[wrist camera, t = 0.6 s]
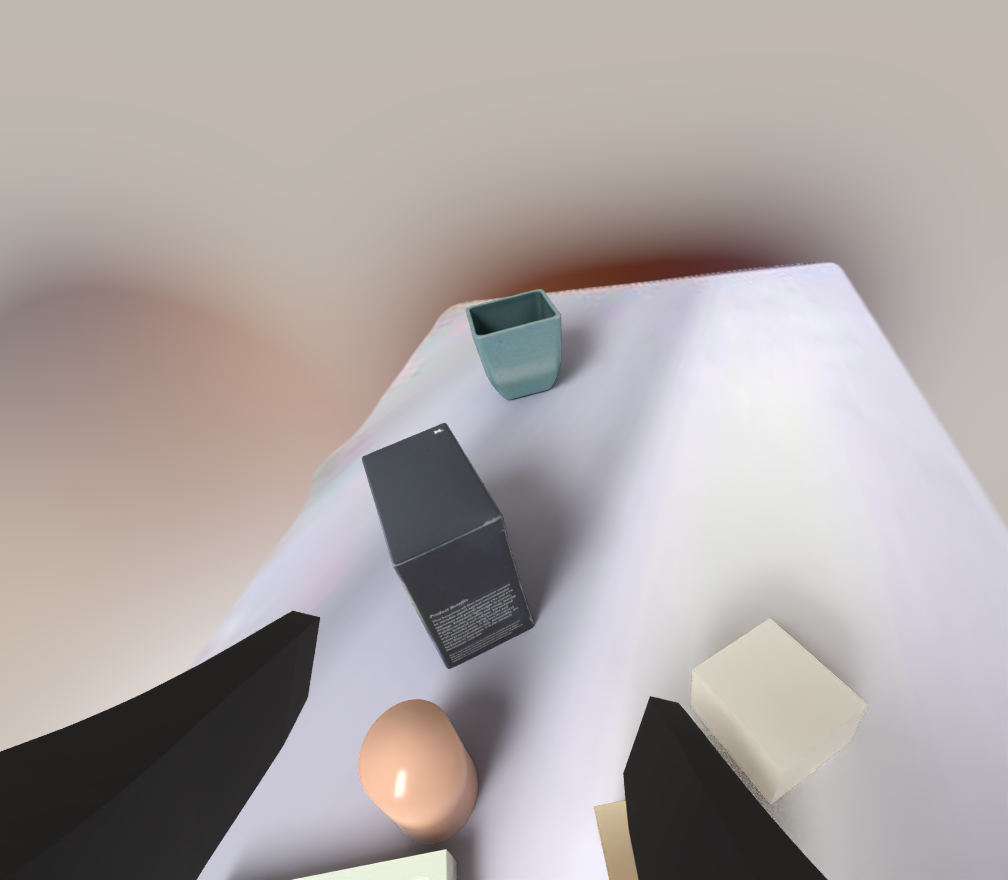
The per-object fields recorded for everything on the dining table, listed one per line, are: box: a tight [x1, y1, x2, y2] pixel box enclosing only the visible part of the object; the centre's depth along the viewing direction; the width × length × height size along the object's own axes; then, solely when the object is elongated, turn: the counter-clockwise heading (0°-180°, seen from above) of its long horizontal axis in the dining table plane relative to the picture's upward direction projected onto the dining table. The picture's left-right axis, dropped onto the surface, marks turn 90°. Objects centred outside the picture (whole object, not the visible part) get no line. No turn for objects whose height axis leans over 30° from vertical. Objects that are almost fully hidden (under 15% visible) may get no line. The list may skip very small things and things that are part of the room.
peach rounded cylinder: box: [358, 700, 478, 844], centre depth 24 cm, size 4×4×5 cm
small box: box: [362, 423, 534, 669], centre depth 32 cm, size 11×6×10 cm, turn 23°
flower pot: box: [466, 289, 562, 400], centre depth 53 cm, size 9×9×9 cm
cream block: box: [690, 618, 869, 805], centre depth 23 cm, size 5×5×4 cm
